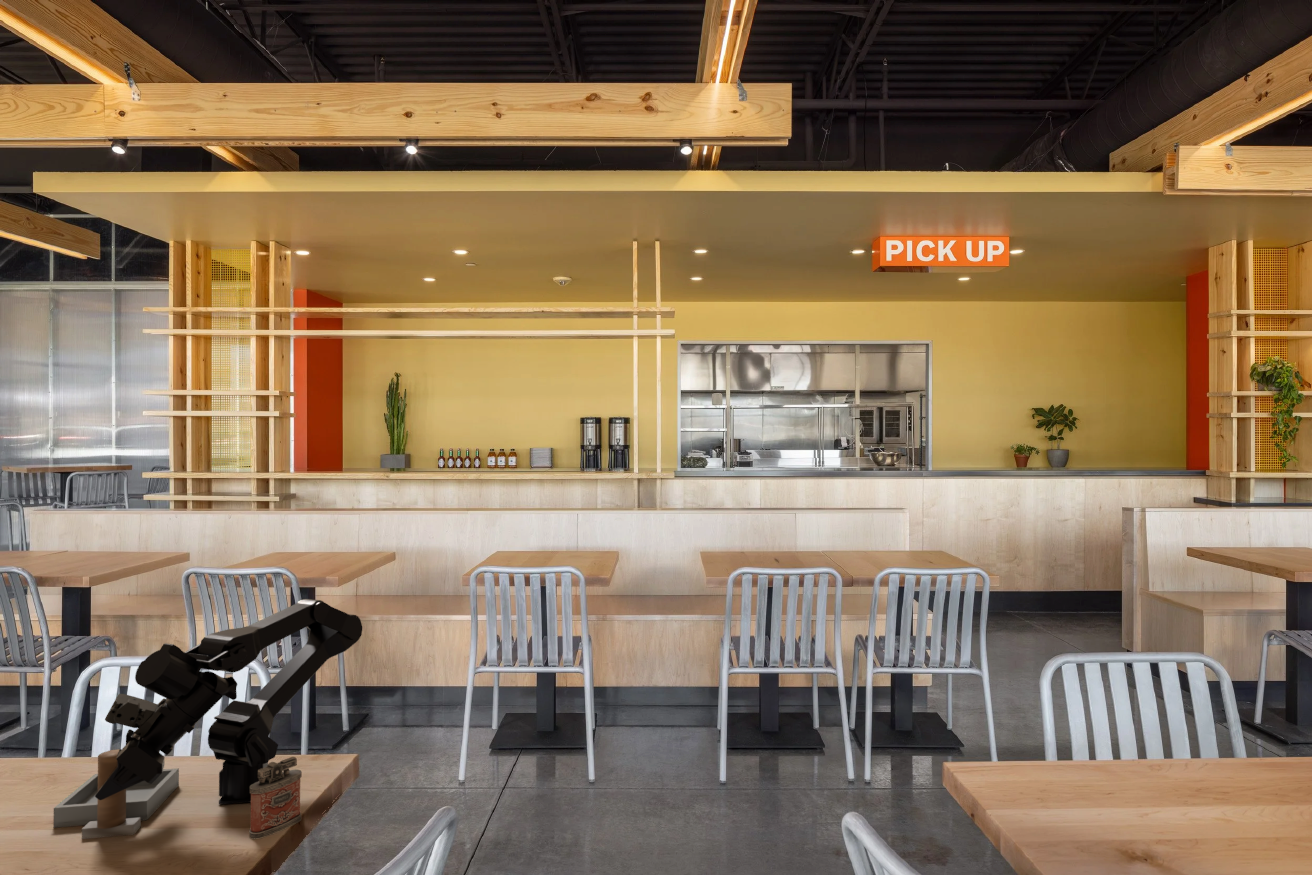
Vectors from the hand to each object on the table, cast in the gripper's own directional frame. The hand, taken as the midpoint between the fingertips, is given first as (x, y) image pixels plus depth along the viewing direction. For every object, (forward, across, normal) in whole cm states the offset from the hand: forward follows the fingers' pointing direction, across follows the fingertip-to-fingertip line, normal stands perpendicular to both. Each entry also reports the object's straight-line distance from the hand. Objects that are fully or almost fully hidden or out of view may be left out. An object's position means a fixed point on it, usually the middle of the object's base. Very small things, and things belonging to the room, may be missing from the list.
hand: (100, 790), depth 121 cm
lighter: (-12, +9, +22) cm, 26 cm away
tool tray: (+4, -10, +5) cm, 12 cm away
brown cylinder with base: (+4, 0, +6) cm, 7 cm away
